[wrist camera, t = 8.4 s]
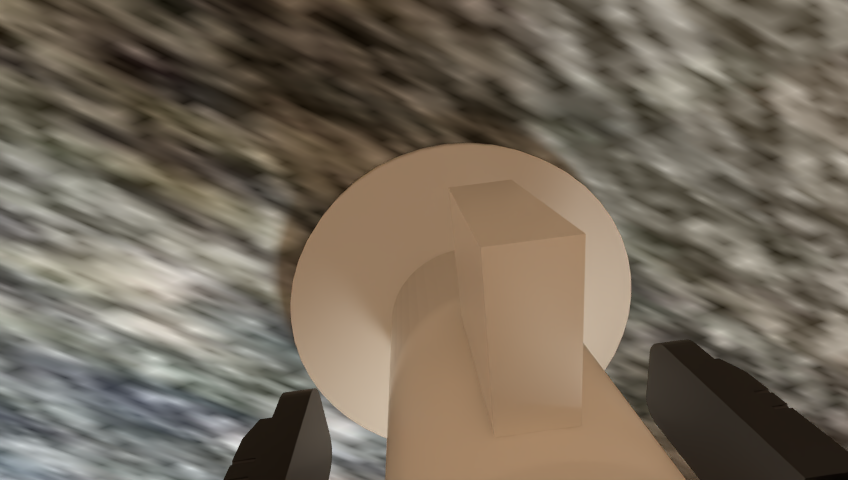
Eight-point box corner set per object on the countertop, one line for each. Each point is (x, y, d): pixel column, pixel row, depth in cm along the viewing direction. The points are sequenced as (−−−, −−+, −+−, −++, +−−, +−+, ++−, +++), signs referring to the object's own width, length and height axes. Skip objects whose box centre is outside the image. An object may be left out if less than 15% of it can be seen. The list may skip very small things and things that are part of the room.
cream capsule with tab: (542, 144, 11) (792, 225, 4) (546, 373, 14) (699, 663, 7) (365, 167, 11) (302, 289, 4) (403, 392, 14) (405, 706, 7)
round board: (627, 120, 12) (643, 122, 11) (610, 411, 16) (622, 427, 15) (259, 167, 12) (249, 171, 11) (331, 449, 15) (328, 467, 15)
